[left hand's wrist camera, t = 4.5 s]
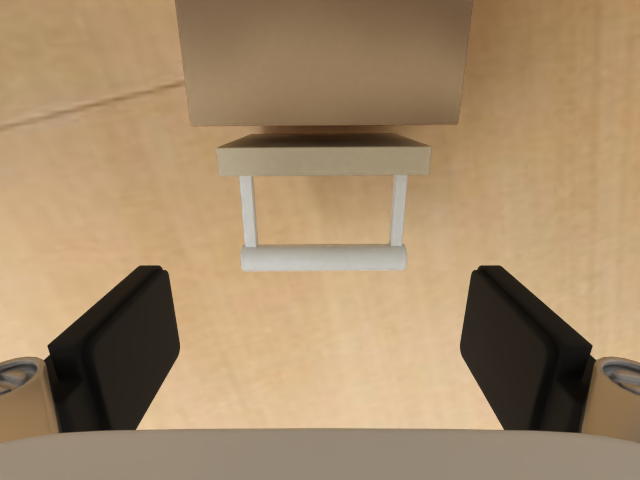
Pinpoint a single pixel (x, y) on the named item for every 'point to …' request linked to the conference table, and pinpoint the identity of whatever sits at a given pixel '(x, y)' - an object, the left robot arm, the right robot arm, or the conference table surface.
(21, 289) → the conference table surface
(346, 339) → the conference table surface
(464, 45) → the cabinet
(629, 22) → the conference table surface
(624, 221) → the conference table surface
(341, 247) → the drawer
